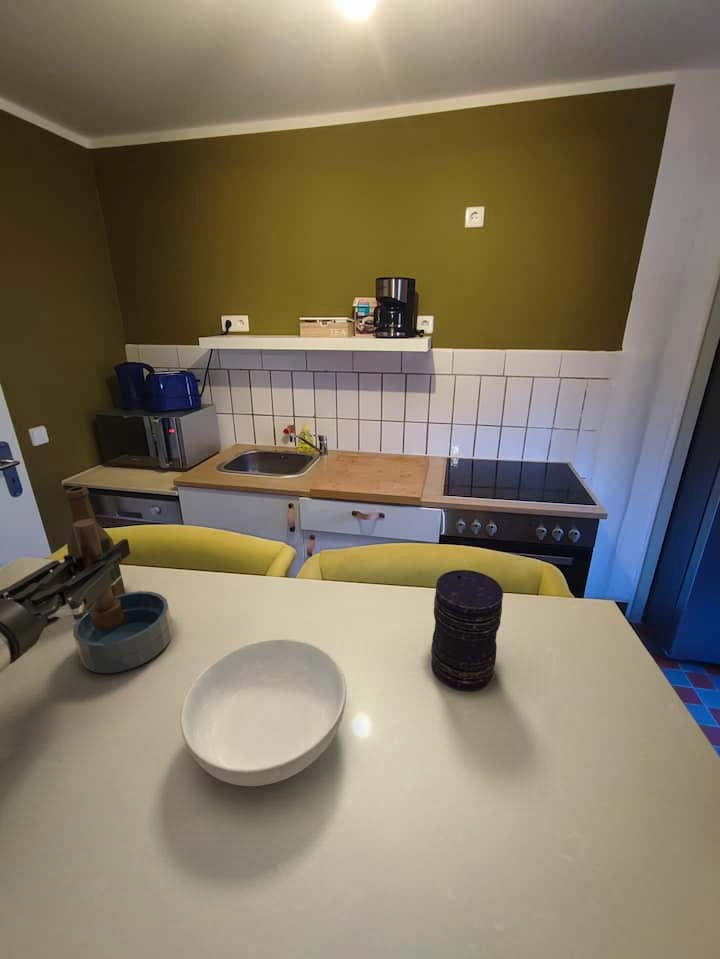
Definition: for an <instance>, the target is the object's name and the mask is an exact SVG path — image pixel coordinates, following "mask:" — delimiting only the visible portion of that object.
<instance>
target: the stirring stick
mask: <svg viewBox="0 0 720 959" xmlns="http://www.w3.org/2000/svg"><path fill="white" fill-rule="evenodd" d="M73 528H74V532H75V536H76V539H77V543H78V547H79V550H80V554H81V558H82V562H83V565H84V569H85V570H86V569H88V568H89V567H91V566H92V565H94V564H96V563H97V562H96V559H97V558H98V557H100V556H101V555H102V554H103V553H102V549H101V545H100V541H99V537H98V533H97V529H96V525H95V521H94V520H93V519H83V520H80V521H77V522H75V523H74V524H73V523H72V529H73ZM93 603H94V604H93V605H92V606H91V607H90V610H89V611H90V615H91V619H92V622H93V626H94V628H96V629H99V630H104V629H109V628H112V627H114V626H116V625H118V624H119V623H120V622H121V621H122V620H123V618H124V615H123V611H122V607H121V603H120V600H119V599H117V598H113V594H112V590H111V586H109V587H108V588H107V589H106V590H105V591H104V592H103V593H102V594H101V595H100V596H99V597H98V598H97V599H96V600H95V601H94V602H93Z"/></svg>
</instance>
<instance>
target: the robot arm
mask: <svg viewBox="0 0 720 959" xmlns="http://www.w3.org/2000/svg"><path fill="white" fill-rule="evenodd" d="M100 545H101V549H102V553H103V554H102V555H101V556H100V557H98V558H97V559H96V562H97V563H96V564H94V565H92V566H91V567H89V568H88V569H86V570H85V569H84V565H83V562H82V558H81V554H79V555H78V556H76V557H75V558H73V557H72V555H71V554H69V555H68V554H65V555H64V556H63V559H64V561H62V562H61V561H60V560H58V559H55V560H53V561H50V562H49V563H46V564H45V565H44V566H42V567H40V568H38V569H37V570H35V571H33V572H32V573H30V574H28V575H26V576H24V577H23V578H21V579H20V580H17V581H16V582H14V583H13V584H11V585H9V586H7V587H5V588H2V589H0V674H1V673H2V672H4V671H5V670H6V669H7V668H8V667H9V666H10V665H12V664H13V663H15V662H16V661H17V660H19V659H20V658H21V657H22V656H24V655H25V654H26V653H27V652H28V651H29V650H31V649H32V648H33V647H35V645H36V644H37V643H38V642H39V639H40V637H41V635H42V633H43V631H44V630H45V629H46V628H48V627H49V626H51V625H53V624H55V623H57V622H58V621H60V619H61V618H63V617H69V616H72V618H73V620H75V621H77V620H78V619H81V618H83V617H84V615H85V613H86V611H87V608H88V607H89V606H90V605H91V604H92V603H93V602H94V601H95V600H96V599H97V598H98V597H99V596H100V595H101V594H102V593H103V592H104V591H105V590H106V589H107V588H108V587H109V586H110V585H111V584H112V583H113V582H114V581H115V580H116V574H115V570H114V568H115V567H116V566H117V565H119V566H120V564H121V563H122V562H123V560H125V559H126V558H127V557H128V556H129V555H131V549H130V545H129V540H128V538H122V539H121V540H120V541H118V542H117V543H116V544H114V546H113V547H112V548H111V547H110V543H109V539H108V538H103V539H102V540H100ZM77 570H79V573H80V574H78V575H76V574H77ZM75 575H76V576H75ZM74 576H75V577H74Z"/></svg>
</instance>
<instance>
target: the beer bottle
mask: <svg viewBox="0 0 720 959" xmlns="http://www.w3.org/2000/svg"><path fill="white" fill-rule="evenodd" d="M89 494H90V491H89V490H88V488H87V487H86V486H85V485H83V486H82V485H80V486H72V487H70V488H68V489H66V490H65V491H64V496H65V497H66V499H67V501H68V506H69V512H70V517H71V522H72V523H71V524H72V525H73V524H74V523H75V522H77V521H80V520H83V519H93V520H94V521H95V525H96V529H97V533H98V537H99V541H100V540H102V539H103V538H108V539H109V543H110V547H111V548H112V547H113V546H114V545H115V543H114V540H113V538H112V537H111V536H110V535H109V533H108V532H107V531H106V530H105V529H104V528H103V527H102V526H101V525H99V523H98V521H97V519H96V515H95V513H94V509H93V506H92V503H91V501H90V497H89ZM66 549H67V555H69V554H71V555H72V557H73V558H75V557H76V556H78V555H79V554H80V550H79V547H78V543H77V539H76V536H75V532H74V528H73V527H72V531H71V533H70V536H69V537H68V540H67V545H66ZM114 570H115V574H116V580H115V581H114V582H113V583H112V584H111V585H110V586H111V590H112V594H113V597H114V596H118V595H121V594H125V593H126V589H125V585H124V580H123V576H122V575H123V574H122V572H121V568H120V564H119V565H117V566H116V567H115V568H114ZM78 574H80V573H79V570H77V574H76V575H78ZM76 575H75V576H76ZM75 576H74V577H75ZM93 604H94V603H92V604H91V605H90V606H89V607H88V608H87V610H88V609H90V607H91V606H92V605H93ZM87 610H86V611H87Z"/></svg>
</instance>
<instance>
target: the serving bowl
mask: <svg viewBox="0 0 720 959" xmlns="http://www.w3.org/2000/svg"><path fill="white" fill-rule="evenodd" d="M346 701H347V683H346V678H345V675H344V672H343V669H342V668H341V666H340V664H339V663H338V662H337V661H336V659H335V658H334V657H333V656H332V655H331V654H330V653H329V652H328V651H326V650H324V649H323V648H321V647H319V646H318V645H316V644H314V643H310V642H308V641H303V640H299V639H293V638H269V639H268V638H267V639H262V640H258V641H253V642H249V643H247V644H244V645H241V646H238V647H236V648H234V649H232V650H230V651H228V652H226V653H223V655H221V656H219V657H218V658H217V659H215V660H214V661H212V662H211V663H210V664H209V665H207V666H206V667H205V668H204V669H203V670H202V671H201V672H200V673H199V674H198V676H197V677H196V678H195V679H194V681H193V682H192V684H191V685H190V687H189V689H188V691H187V692H186V694H185V697H184V699H183V703H182V706H181V710H180V730H181V735H182V738H183V740H184V742H185V744H186V747H187V749H188V751H189V753H190V754H191V756H192V757H193V759H194V760H195V762H196V763H197V764H198V765H199V766H200V767H201V768H202V769H203V770H204V771H205V772H207V773H208V774H209V775H211V776H212V777H214V778H215V779H217V780H220V781H222V782H225V783H228V784H231V785H235V786H242V787H258V786H259V787H261V786H267V785H272V784H274V783H279V782H282V781H284V780H286V779H289V778H291V777H294V776H295V775H296V774H298V773H300V772H302V771H303V770H305V769H306V768H307V767H309V766H311V764H313V763H314V762H315V761H316V760H317V759H318V758H319V757H321V755H322V754H323V753H324V752H325V750H327V748H328V746H330V744H331V742H332V741H333V739H334V737H335V736H336V734H337V733H338V730H339V727H340V725H341V722H342V719H343V715H344V712H345V706H346Z"/></svg>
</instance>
